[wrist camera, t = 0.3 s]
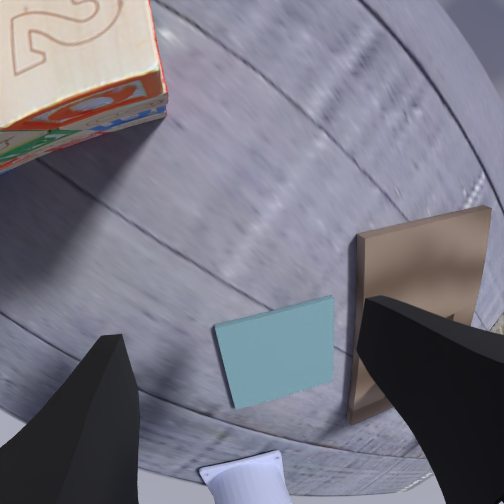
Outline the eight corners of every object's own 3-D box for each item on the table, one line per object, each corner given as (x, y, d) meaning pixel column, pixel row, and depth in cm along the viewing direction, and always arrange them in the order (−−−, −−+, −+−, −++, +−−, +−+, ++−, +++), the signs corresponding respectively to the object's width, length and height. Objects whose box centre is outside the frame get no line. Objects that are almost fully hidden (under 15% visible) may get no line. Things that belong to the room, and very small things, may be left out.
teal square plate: (330, 377, 24) (332, 380, 24) (234, 406, 23) (235, 409, 23) (331, 295, 21) (334, 297, 21) (214, 324, 20) (215, 328, 20)
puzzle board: (450, 368, 30) (455, 373, 29) (346, 418, 28) (350, 425, 27) (483, 205, 23) (491, 208, 22) (356, 233, 20) (365, 238, 19)
